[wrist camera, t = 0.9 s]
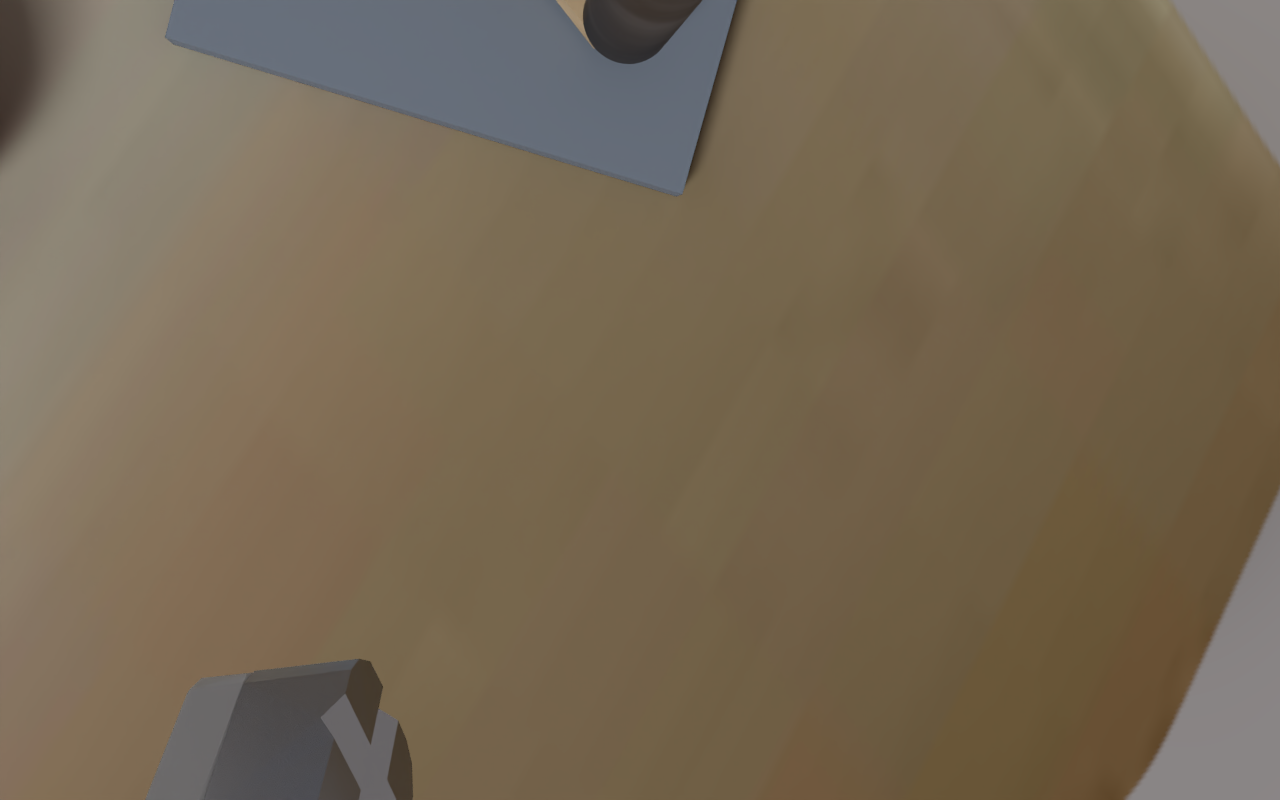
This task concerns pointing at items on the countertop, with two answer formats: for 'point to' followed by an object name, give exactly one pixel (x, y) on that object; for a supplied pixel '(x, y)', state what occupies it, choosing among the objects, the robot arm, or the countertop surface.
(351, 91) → the board
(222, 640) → the countertop surface
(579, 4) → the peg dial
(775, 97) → the countertop surface
